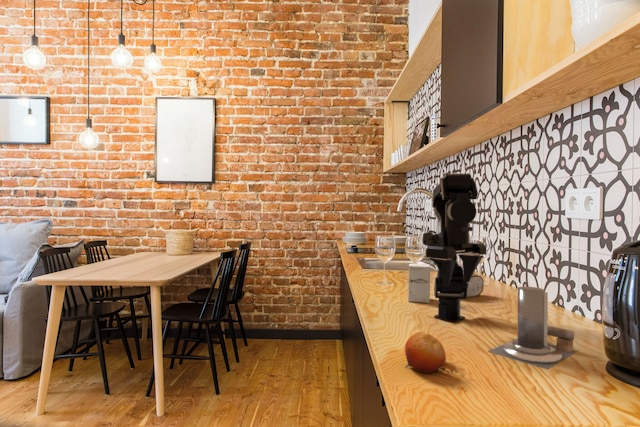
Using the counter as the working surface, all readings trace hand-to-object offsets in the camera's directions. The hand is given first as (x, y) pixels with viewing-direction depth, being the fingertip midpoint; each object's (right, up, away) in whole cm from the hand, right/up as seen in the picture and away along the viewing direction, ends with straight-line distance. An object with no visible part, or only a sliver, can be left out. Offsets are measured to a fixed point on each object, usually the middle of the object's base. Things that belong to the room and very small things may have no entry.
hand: (456, 284), depth 98 cm
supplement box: (0, -13, +38) cm, 41 cm away
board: (+12, -13, -14) cm, 23 cm away
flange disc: (+10, -12, -16) cm, 22 cm away
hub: (+10, -11, -16) cm, 22 cm away
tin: (+19, -13, +43) cm, 49 cm away
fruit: (-14, -13, -21) cm, 29 cm away
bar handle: (+16, -12, -11) cm, 23 cm away
